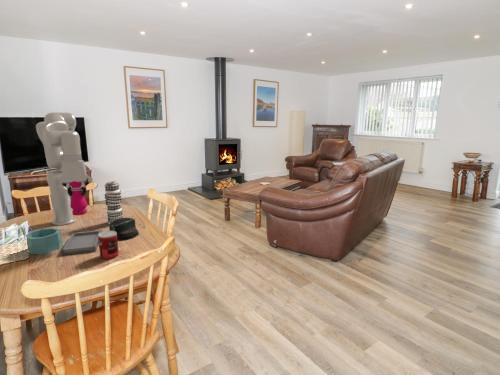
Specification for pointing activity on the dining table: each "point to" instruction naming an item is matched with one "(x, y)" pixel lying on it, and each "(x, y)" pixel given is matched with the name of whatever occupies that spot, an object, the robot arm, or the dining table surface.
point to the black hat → (124, 228)
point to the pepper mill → (77, 199)
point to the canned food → (108, 244)
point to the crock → (44, 240)
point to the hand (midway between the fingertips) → (77, 195)
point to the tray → (81, 243)
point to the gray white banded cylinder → (113, 201)
